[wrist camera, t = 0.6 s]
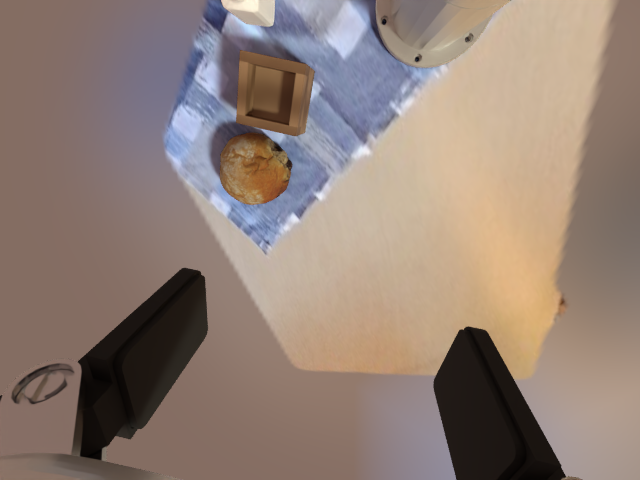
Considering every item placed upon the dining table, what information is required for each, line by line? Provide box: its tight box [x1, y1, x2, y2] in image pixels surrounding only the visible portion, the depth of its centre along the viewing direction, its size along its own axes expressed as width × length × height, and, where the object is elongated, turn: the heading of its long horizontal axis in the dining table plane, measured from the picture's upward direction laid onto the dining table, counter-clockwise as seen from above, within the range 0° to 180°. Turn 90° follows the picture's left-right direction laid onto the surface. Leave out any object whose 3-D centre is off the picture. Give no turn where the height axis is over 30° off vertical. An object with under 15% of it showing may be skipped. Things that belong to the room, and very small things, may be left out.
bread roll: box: [220, 132, 292, 205], centre depth 39 cm, size 10×10×8 cm
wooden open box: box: [236, 50, 315, 136], centre depth 34 cm, size 7×7×6 cm
